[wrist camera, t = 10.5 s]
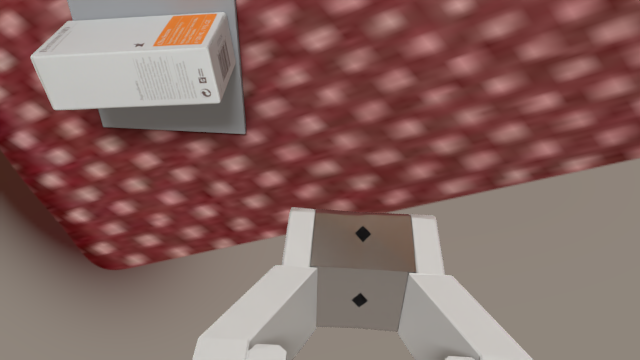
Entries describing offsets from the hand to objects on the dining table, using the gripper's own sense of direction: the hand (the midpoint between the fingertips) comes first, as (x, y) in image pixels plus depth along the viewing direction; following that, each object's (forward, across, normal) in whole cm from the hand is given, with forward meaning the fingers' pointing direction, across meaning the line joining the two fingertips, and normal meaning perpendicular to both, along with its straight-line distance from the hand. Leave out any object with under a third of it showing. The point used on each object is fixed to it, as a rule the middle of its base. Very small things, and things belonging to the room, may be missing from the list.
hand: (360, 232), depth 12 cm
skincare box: (+26, +9, +9) cm, 29 cm away
